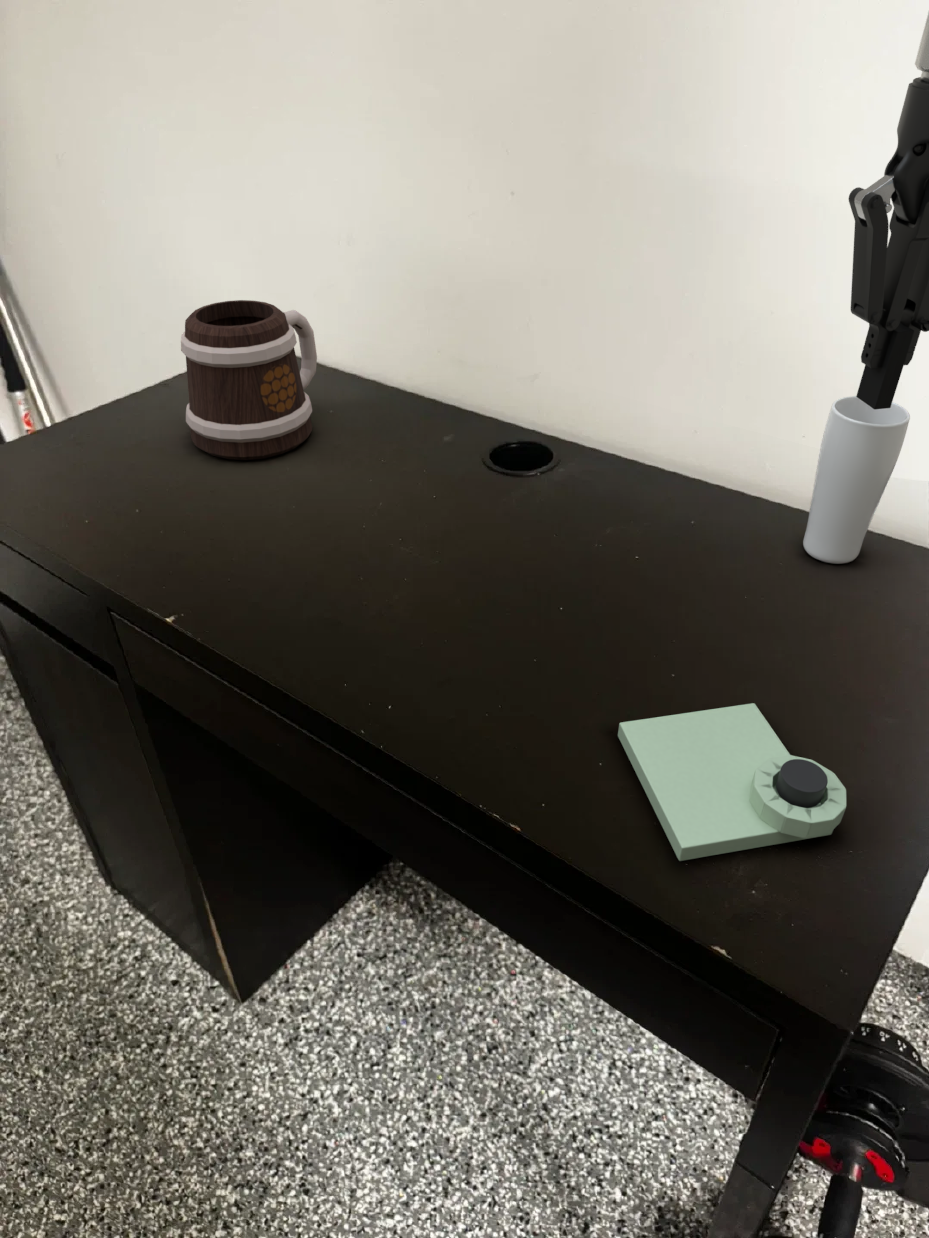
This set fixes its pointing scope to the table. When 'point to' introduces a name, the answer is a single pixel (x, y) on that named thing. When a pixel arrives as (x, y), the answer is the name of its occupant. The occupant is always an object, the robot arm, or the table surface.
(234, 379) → the mug
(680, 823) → the scale
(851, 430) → the drinking glass
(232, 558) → the table surface
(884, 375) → the robot arm
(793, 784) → the button
